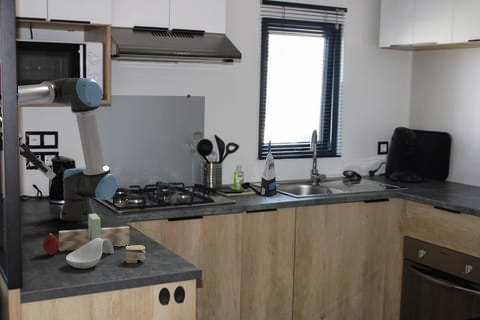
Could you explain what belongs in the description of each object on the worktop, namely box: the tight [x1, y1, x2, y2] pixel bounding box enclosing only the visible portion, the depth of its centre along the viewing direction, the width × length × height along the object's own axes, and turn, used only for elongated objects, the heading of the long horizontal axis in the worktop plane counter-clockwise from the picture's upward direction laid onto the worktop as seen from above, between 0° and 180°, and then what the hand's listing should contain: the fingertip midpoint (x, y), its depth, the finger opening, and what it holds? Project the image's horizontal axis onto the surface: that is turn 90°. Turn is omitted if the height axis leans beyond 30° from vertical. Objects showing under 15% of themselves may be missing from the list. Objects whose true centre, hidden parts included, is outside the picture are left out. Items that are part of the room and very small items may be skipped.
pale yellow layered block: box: [125, 244, 146, 264], centre depth 222 cm, size 10×9×6 cm
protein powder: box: [259, 139, 278, 198], centre depth 362 cm, size 10×24×30 cm, turn 174°
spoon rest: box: [65, 238, 115, 270], centre depth 221 cm, size 24×12×7 cm, turn 165°
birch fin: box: [58, 225, 131, 252], centre depth 240 cm, size 26×2×7 cm, turn 112°
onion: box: [42, 232, 60, 256], centre depth 228 cm, size 6×6×8 cm
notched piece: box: [87, 213, 102, 241], centre depth 239 cm, size 10×3×12 cm, turn 22°
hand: (51, 174), depth 241 cm, fingers open, 13 cm apart
